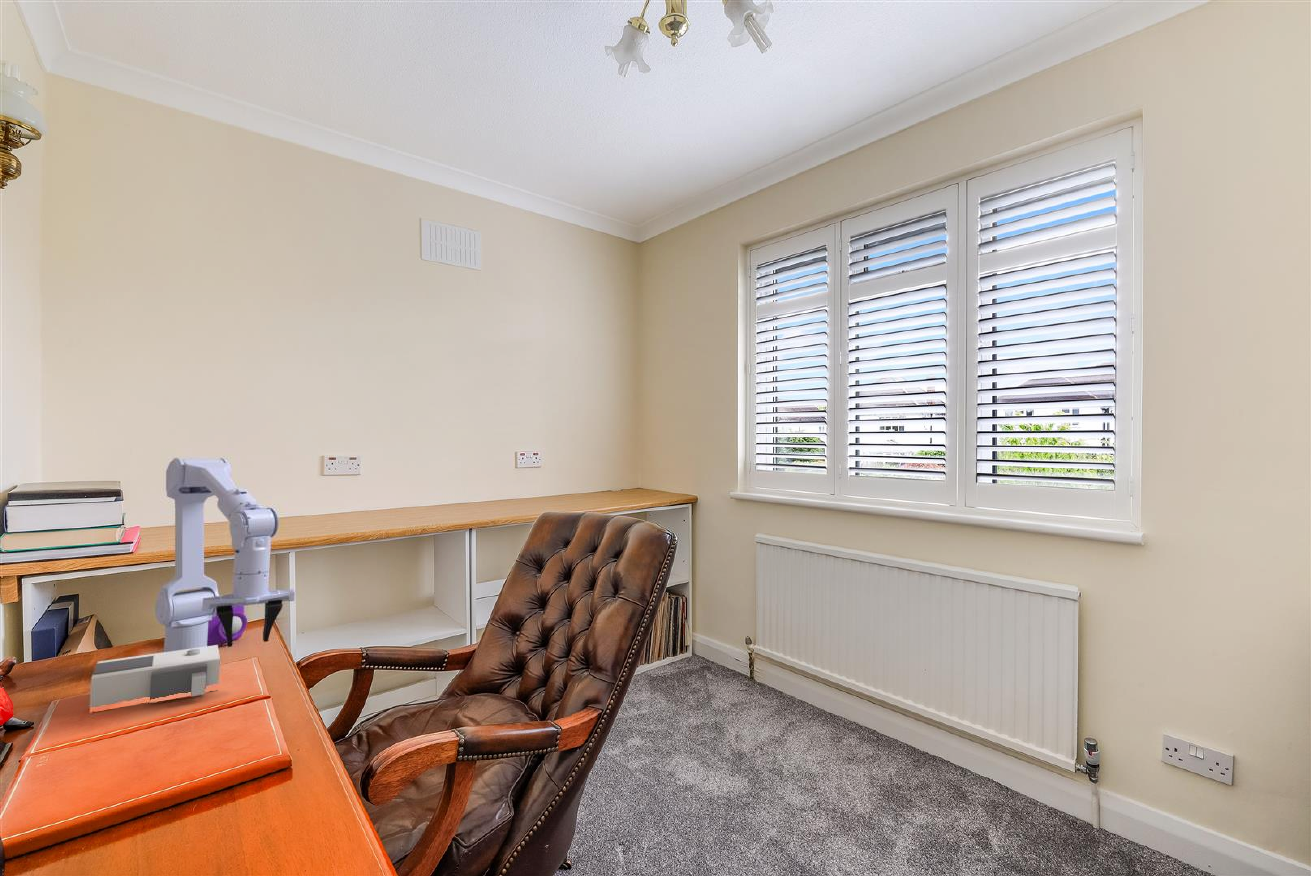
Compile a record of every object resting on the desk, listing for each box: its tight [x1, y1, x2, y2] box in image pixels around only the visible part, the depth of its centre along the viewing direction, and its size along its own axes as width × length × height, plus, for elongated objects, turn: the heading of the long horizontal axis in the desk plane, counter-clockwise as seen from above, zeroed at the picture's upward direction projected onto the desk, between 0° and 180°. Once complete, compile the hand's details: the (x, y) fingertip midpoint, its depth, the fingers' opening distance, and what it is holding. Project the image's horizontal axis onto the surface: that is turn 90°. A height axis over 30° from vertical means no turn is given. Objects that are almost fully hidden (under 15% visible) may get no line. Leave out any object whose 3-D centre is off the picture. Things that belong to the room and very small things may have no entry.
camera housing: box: [89, 644, 221, 708], centre depth 112 cm, size 10×18×7 cm, turn 129°
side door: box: [150, 664, 207, 700], centre depth 108 cm, size 4×8×5 cm, turn 129°
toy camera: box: [207, 594, 248, 646], centre depth 141 cm, size 11×14×10 cm
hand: (247, 642), depth 113 cm, fingers open, 5 cm apart
